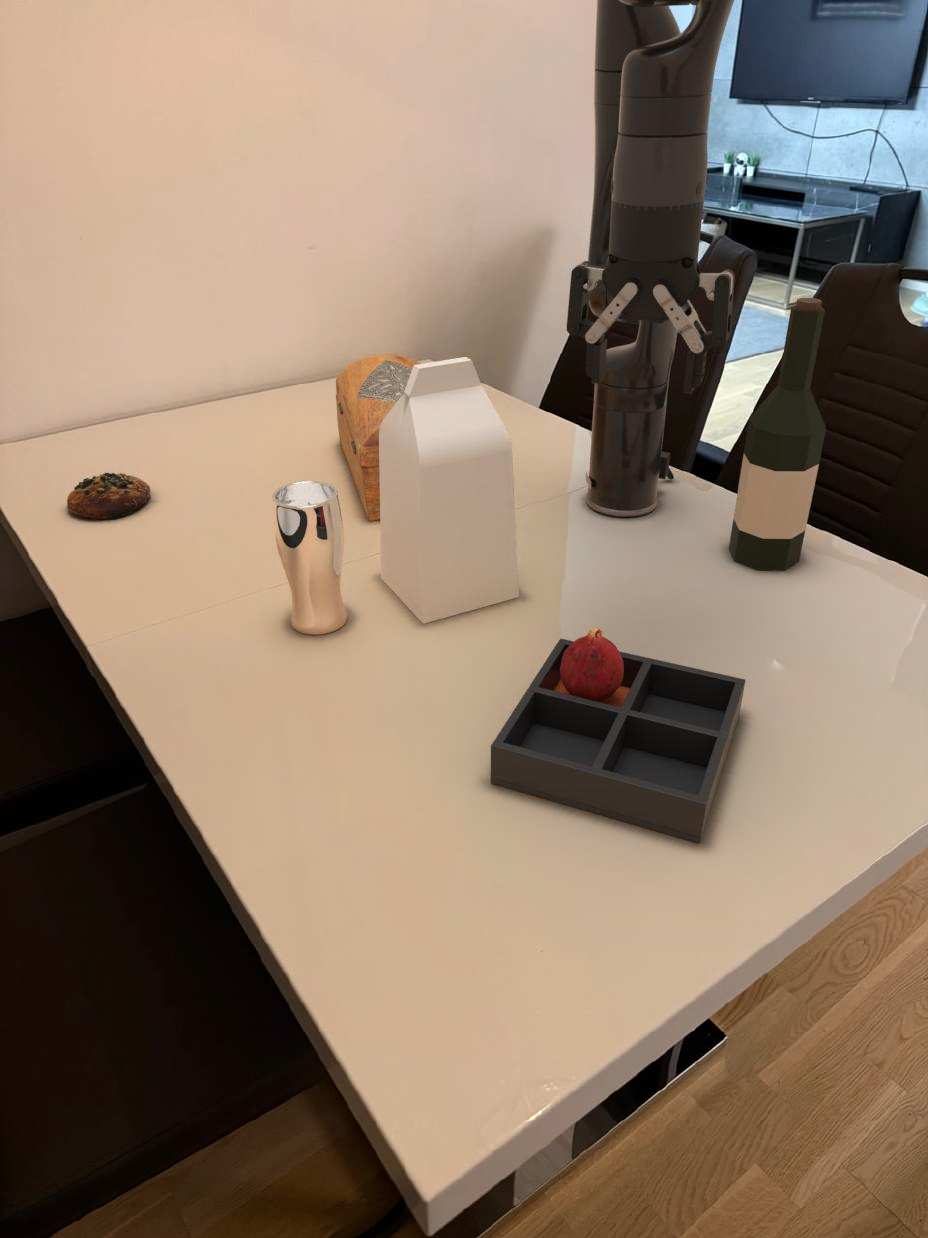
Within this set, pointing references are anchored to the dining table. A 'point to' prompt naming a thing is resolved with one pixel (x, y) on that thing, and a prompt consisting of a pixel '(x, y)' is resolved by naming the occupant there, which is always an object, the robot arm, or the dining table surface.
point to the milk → (447, 495)
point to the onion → (592, 667)
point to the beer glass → (311, 553)
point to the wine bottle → (781, 454)
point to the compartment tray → (624, 743)
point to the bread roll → (108, 496)
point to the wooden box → (368, 417)
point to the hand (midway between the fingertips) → (642, 385)
